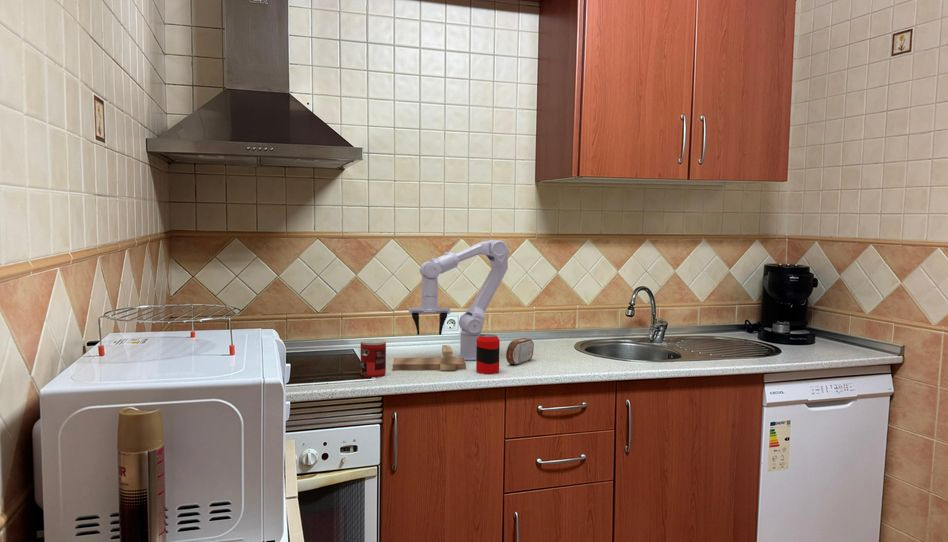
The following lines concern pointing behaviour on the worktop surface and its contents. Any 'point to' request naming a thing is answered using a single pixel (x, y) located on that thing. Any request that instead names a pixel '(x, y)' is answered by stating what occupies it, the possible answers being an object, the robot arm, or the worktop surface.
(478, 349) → the soda can
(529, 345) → the tin
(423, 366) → the board
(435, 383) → the worktop surface
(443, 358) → the wooden block
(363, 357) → the canned food
